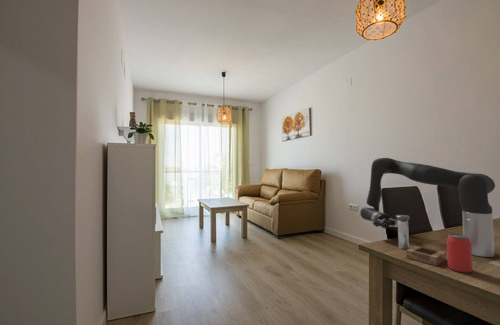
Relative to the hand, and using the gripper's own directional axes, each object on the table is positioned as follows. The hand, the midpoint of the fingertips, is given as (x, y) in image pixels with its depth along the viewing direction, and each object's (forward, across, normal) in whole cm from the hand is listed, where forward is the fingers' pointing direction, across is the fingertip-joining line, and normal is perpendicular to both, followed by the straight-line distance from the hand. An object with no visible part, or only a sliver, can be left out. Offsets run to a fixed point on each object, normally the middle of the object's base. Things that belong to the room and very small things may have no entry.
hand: (395, 226), depth 115 cm
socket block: (+20, +2, +8) cm, 21 cm away
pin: (+7, 0, +8) cm, 11 cm away
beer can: (+30, +8, +8) cm, 32 cm away
